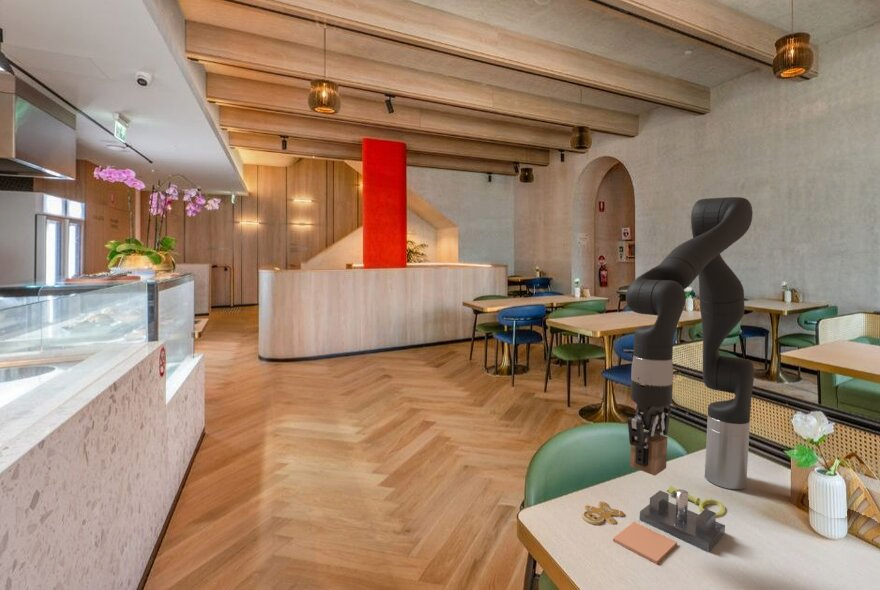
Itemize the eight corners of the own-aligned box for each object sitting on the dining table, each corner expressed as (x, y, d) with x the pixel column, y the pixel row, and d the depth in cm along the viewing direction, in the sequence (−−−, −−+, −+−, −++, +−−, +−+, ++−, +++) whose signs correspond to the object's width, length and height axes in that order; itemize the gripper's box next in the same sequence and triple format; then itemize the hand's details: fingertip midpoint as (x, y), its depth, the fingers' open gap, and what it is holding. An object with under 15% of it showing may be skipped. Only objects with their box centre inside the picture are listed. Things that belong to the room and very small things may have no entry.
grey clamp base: (657, 505, 103) (659, 473, 102) (724, 534, 92) (726, 498, 92) (639, 519, 97) (640, 485, 97) (708, 552, 86) (710, 514, 86)
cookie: (630, 514, 99) (602, 528, 93) (630, 518, 99) (602, 532, 93) (599, 497, 106) (571, 509, 100) (599, 501, 106) (571, 513, 100)
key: (667, 492, 110) (667, 484, 109) (725, 507, 103) (725, 499, 103) (664, 505, 104) (664, 497, 104) (725, 523, 97) (725, 514, 97)
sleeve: (641, 459, 91) (642, 429, 91) (666, 468, 88) (667, 437, 87) (630, 466, 88) (631, 435, 88) (654, 475, 84) (656, 443, 84)
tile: (634, 524, 96) (634, 521, 96) (676, 544, 89) (676, 542, 89) (612, 540, 90) (612, 538, 90) (656, 564, 83) (656, 561, 83)
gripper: (649, 369, 94) (646, 445, 95) (615, 381, 85) (612, 464, 86) (686, 377, 88) (682, 457, 90) (654, 389, 79) (650, 479, 80)
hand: (648, 460), depth 88 cm, fingers closed on sleeve, 5 cm apart
